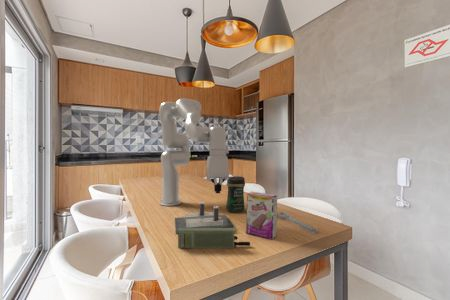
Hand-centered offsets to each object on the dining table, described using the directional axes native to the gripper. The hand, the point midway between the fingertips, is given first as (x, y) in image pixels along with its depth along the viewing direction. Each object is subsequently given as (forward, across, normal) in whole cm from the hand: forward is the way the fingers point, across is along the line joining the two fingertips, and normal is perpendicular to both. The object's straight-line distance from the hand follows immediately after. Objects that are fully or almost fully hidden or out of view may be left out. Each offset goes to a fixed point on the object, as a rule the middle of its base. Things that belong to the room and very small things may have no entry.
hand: (217, 192), depth 103 cm
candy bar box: (+14, -14, +19) cm, 27 cm away
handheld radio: (+14, +7, +25) cm, 29 cm away
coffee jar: (+13, -13, -14) cm, 23 cm away
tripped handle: (+11, +7, -1) cm, 13 cm away
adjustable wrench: (+14, -34, +9) cm, 38 cm away
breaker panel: (+13, +7, +3) cm, 15 cm away
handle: (+11, +2, +7) cm, 13 cm away
